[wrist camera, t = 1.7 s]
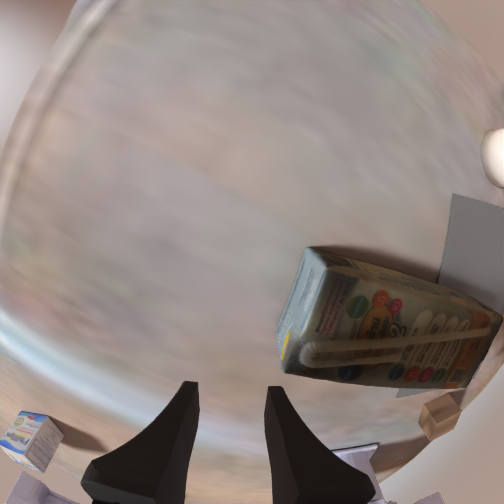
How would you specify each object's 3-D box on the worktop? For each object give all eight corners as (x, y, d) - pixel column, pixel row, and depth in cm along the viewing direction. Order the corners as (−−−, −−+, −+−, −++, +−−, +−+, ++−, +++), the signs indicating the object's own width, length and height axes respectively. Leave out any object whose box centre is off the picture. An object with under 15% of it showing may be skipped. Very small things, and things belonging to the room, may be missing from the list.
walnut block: (441, 411, 27) (453, 428, 23) (417, 422, 27) (429, 441, 23) (447, 392, 26) (461, 410, 22) (423, 403, 26) (436, 423, 22)
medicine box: (48, 414, 26) (23, 454, 18) (65, 435, 27) (44, 475, 19) (20, 409, 26) (-4, 443, 18) (36, 429, 27) (15, 463, 19)
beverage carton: (304, 237, 20) (329, 264, 14) (470, 291, 22) (511, 318, 15) (271, 331, 22) (279, 384, 16) (437, 357, 24) (468, 393, 17)
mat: (473, 377, 26) (474, 378, 25) (396, 396, 25) (396, 398, 25) (523, 215, 20) (524, 215, 20) (452, 193, 20) (453, 194, 19)
